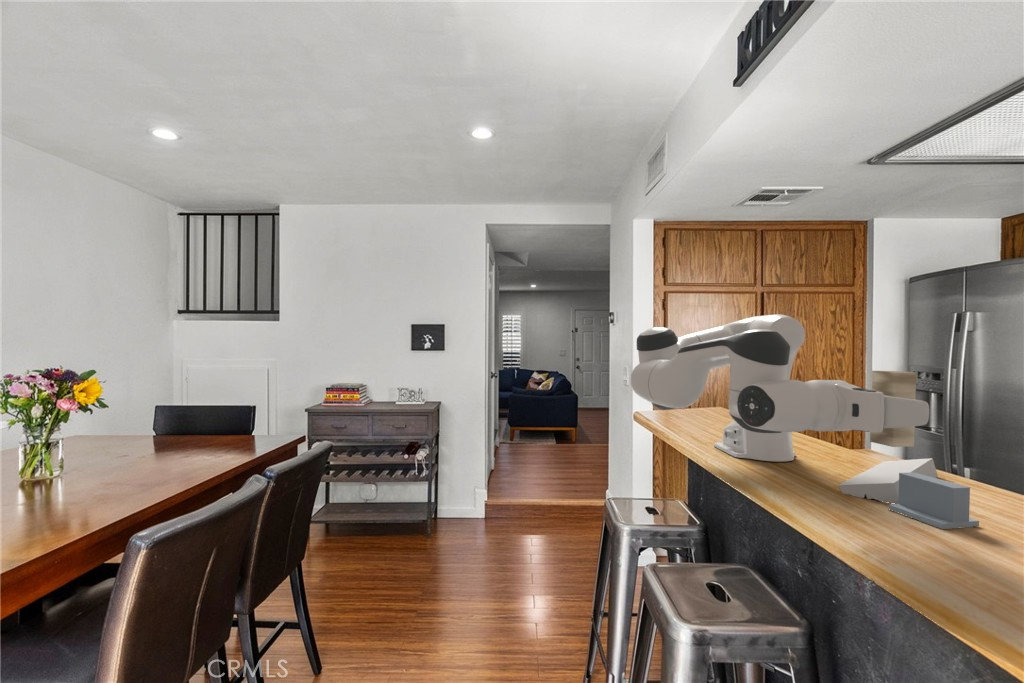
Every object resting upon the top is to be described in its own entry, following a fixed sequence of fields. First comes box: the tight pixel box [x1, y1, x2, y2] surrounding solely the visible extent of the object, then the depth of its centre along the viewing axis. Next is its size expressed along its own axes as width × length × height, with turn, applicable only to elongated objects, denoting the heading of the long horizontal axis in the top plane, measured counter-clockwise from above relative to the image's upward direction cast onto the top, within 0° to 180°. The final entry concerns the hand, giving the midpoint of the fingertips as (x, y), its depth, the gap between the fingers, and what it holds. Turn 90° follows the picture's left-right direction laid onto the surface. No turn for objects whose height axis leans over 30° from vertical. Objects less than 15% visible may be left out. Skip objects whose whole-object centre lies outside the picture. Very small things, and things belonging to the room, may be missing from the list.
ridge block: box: [888, 472, 980, 530], centre depth 94 cm, size 10×8×7 cm
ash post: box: [869, 370, 917, 448], centre depth 92 cm, size 4×4×13 cm
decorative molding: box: [838, 457, 939, 504], centre depth 116 cm, size 34×5×10 cm
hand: (897, 404), depth 92 cm, fingers closed on ash post, 4 cm apart
